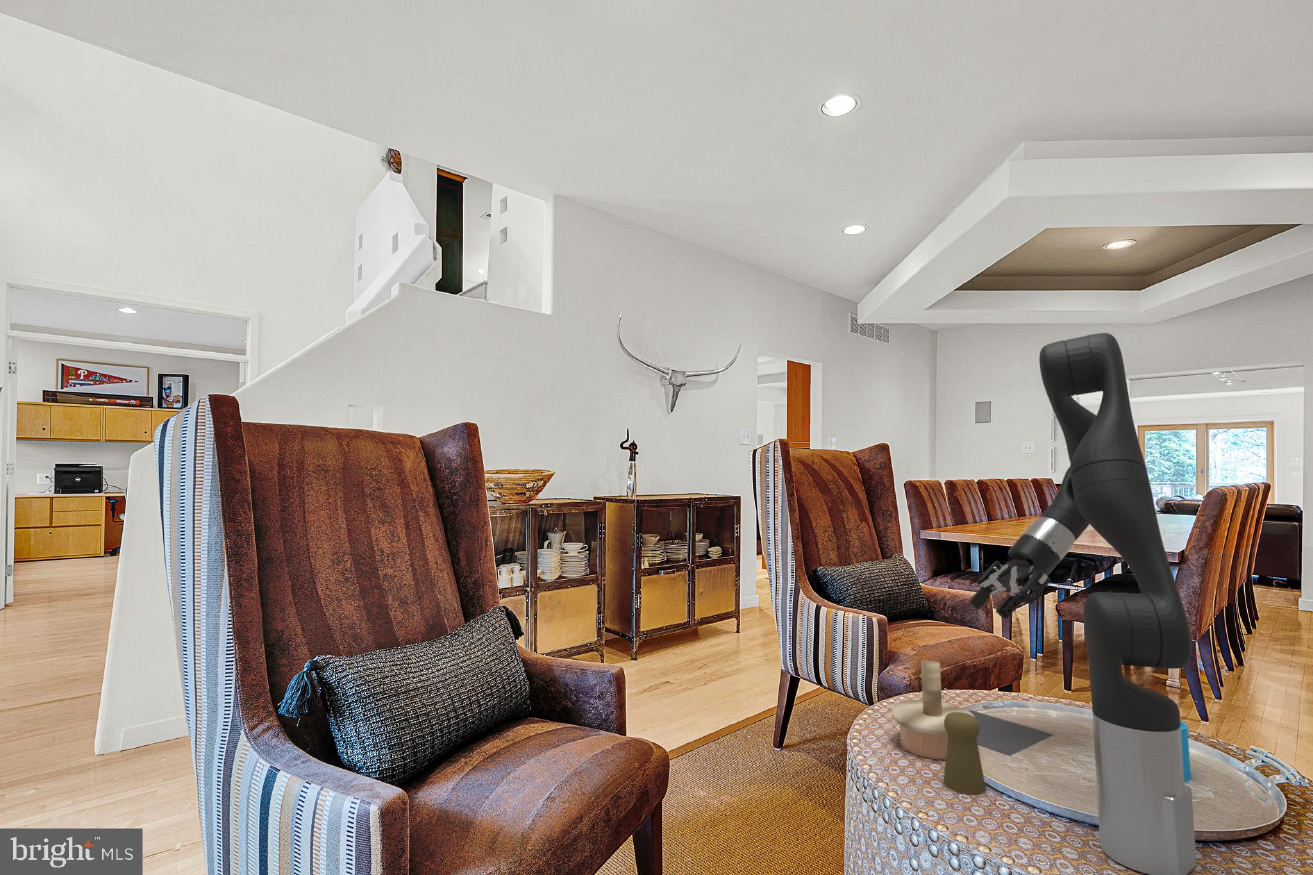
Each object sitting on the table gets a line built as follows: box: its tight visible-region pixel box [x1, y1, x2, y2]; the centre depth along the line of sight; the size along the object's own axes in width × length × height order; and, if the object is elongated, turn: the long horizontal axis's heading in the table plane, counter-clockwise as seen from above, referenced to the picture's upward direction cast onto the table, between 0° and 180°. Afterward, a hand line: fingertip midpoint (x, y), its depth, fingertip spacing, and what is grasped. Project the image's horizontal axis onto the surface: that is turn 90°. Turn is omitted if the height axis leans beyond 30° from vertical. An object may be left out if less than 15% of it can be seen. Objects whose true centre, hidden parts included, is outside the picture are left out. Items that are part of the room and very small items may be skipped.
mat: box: [968, 709, 1054, 757], centre depth 123 cm, size 16×16×1 cm
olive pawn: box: [943, 712, 987, 795], centre depth 102 cm, size 6×6×11 cm
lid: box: [891, 659, 975, 735], centre depth 117 cm, size 14×14×10 cm
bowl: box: [899, 724, 948, 761], centre depth 116 cm, size 11×11×5 cm
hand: (986, 610), depth 119 cm, fingers open, 8 cm apart
